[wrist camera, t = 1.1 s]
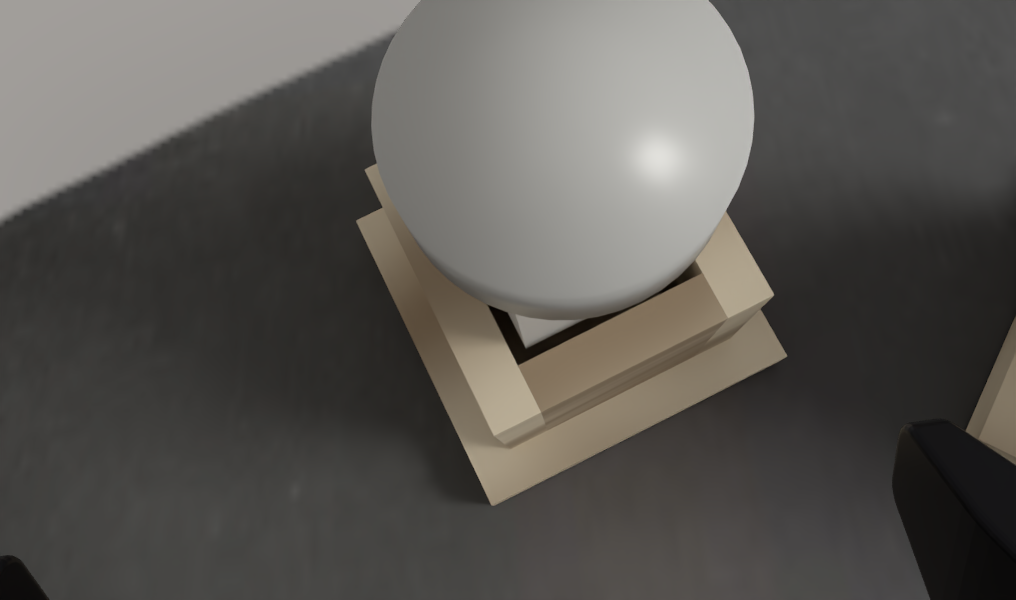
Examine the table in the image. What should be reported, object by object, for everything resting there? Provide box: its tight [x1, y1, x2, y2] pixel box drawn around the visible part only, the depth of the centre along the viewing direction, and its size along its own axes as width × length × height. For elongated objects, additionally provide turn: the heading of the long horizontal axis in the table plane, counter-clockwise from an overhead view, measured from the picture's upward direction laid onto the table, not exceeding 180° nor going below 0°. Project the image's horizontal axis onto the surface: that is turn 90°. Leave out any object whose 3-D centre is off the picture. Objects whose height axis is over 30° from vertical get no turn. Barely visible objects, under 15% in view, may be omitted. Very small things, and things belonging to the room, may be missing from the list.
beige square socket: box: [356, 164, 787, 506], centre depth 21 cm, size 8×8×6 cm
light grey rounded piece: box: [371, 0, 754, 349], centre depth 16 cm, size 5×5×6 cm
